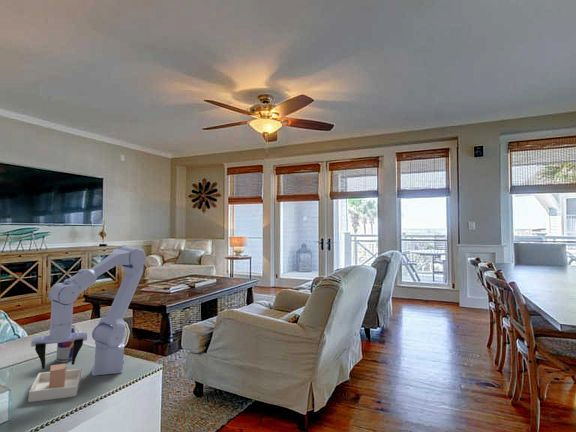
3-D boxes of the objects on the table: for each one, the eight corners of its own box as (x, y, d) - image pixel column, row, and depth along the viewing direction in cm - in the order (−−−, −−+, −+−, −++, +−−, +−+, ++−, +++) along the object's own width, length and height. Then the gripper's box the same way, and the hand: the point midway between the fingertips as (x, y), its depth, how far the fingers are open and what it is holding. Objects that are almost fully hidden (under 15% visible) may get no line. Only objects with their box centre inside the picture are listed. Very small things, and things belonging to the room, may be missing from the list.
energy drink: (65, 363, 126) (67, 330, 126) (52, 361, 127) (54, 328, 127) (76, 357, 131) (79, 326, 131) (64, 355, 132) (67, 324, 132)
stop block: (64, 381, 112) (65, 363, 112) (64, 387, 109) (65, 368, 109) (49, 384, 110) (50, 365, 110) (48, 390, 107) (50, 371, 107)
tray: (81, 377, 117) (81, 368, 117) (76, 396, 106) (76, 386, 106) (38, 382, 112) (38, 372, 112) (28, 402, 102) (28, 391, 101)
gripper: (87, 316, 116) (84, 356, 117) (33, 320, 109) (31, 363, 109) (88, 323, 110) (85, 365, 111) (31, 328, 103) (28, 373, 103)
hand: (58, 365), depth 109 cm, fingers open, 7 cm apart
